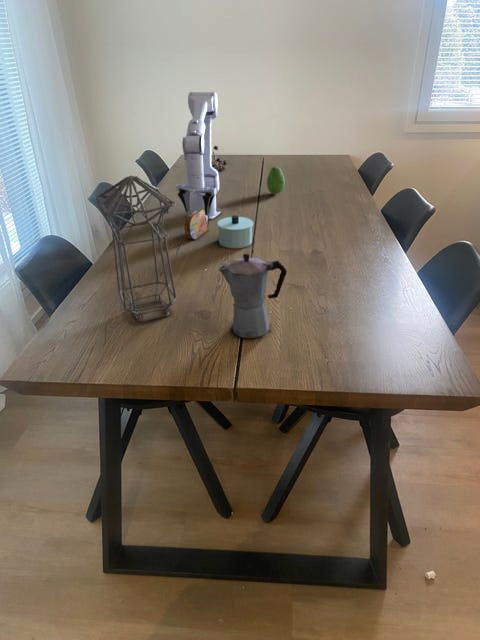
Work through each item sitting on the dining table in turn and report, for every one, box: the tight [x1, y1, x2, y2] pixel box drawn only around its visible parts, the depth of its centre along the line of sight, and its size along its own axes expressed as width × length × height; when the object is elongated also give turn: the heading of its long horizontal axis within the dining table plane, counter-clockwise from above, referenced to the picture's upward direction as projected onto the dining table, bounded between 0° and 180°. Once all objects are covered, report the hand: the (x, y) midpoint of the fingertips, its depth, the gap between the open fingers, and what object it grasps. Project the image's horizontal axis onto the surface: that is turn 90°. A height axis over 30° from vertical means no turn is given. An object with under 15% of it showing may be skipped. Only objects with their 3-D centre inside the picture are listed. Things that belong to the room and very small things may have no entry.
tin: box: [183, 209, 210, 240], centre depth 162 cm, size 15×3×8 cm, turn 158°
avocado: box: [266, 165, 286, 195], centre depth 200 cm, size 8×8×12 cm
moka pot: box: [218, 253, 287, 339], centre depth 106 cm, size 10×15×20 cm, turn 95°
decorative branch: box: [211, 145, 228, 173], centre depth 245 cm, size 11×9×30 cm
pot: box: [218, 226, 253, 249], centre depth 156 cm, size 11×11×6 cm
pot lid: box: [217, 215, 254, 231], centre depth 154 cm, size 12×12×3 cm
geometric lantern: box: [95, 175, 177, 323], centre depth 110 cm, size 16×16×35 cm
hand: (197, 212), depth 159 cm, fingers open, 7 cm apart
